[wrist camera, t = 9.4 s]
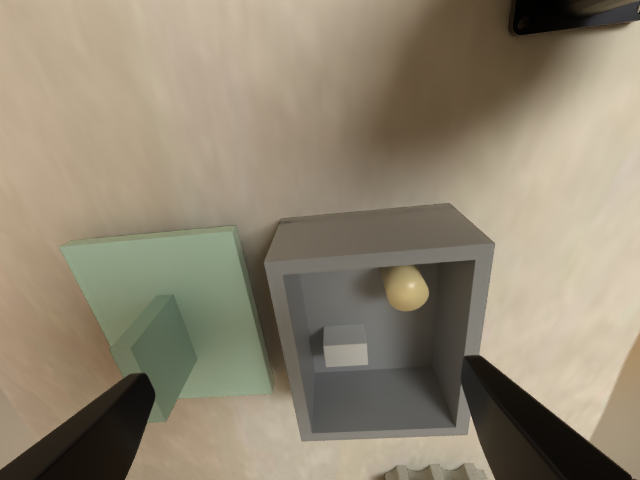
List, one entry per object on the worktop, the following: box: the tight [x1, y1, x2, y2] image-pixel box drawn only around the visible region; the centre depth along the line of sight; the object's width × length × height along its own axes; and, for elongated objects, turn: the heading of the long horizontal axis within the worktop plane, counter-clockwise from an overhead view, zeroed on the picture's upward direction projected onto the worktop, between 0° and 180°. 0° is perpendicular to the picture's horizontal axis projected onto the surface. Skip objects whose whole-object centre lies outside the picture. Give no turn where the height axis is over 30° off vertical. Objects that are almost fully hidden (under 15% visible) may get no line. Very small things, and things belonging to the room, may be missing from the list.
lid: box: [59, 225, 275, 423], centre depth 21 cm, size 11×14×7 cm
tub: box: [264, 203, 495, 441], centre depth 20 cm, size 11×14×6 cm
